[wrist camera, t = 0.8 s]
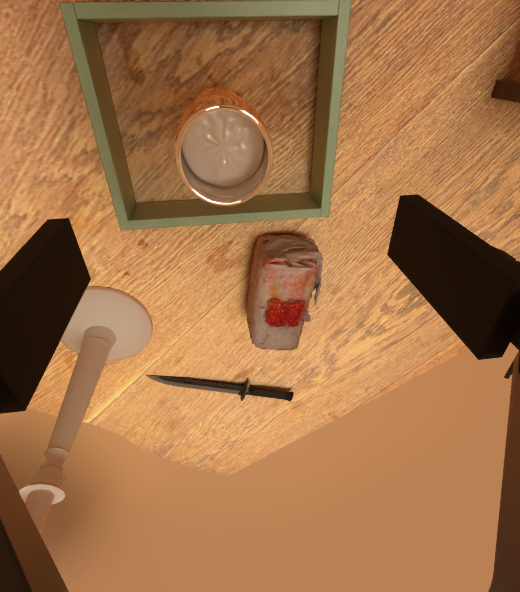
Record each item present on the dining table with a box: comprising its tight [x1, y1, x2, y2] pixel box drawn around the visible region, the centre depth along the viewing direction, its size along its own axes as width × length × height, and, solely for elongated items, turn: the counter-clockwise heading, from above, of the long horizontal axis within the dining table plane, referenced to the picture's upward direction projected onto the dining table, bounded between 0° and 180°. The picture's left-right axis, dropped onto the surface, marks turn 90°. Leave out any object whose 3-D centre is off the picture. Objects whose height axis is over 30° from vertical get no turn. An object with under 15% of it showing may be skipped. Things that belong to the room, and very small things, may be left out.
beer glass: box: [175, 87, 273, 206], centre depth 30 cm, size 7×7×15 cm
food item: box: [247, 235, 323, 350], centre depth 43 cm, size 14×8×10 cm, turn 174°
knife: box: [146, 375, 293, 401], centre depth 58 cm, size 25×2×5 cm
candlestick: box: [19, 287, 152, 535], centre depth 36 cm, size 13×13×30 cm
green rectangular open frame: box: [59, 0, 352, 230], centre depth 34 cm, size 18×22×5 cm
